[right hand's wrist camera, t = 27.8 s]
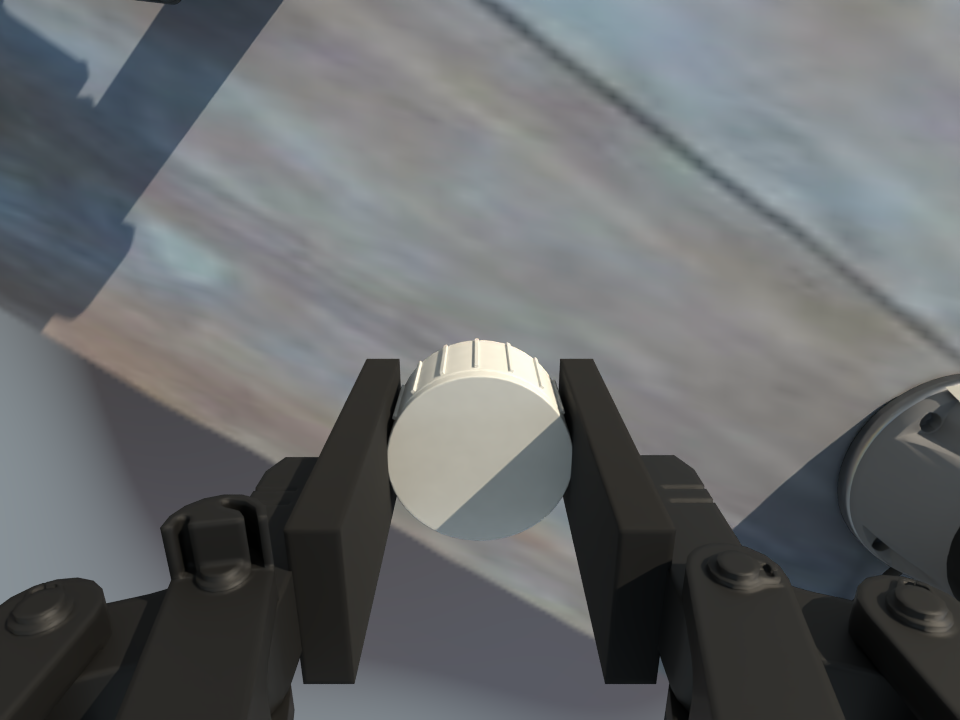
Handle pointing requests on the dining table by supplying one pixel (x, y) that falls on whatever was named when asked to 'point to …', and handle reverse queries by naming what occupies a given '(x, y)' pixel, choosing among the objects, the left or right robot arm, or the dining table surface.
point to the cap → (479, 442)
